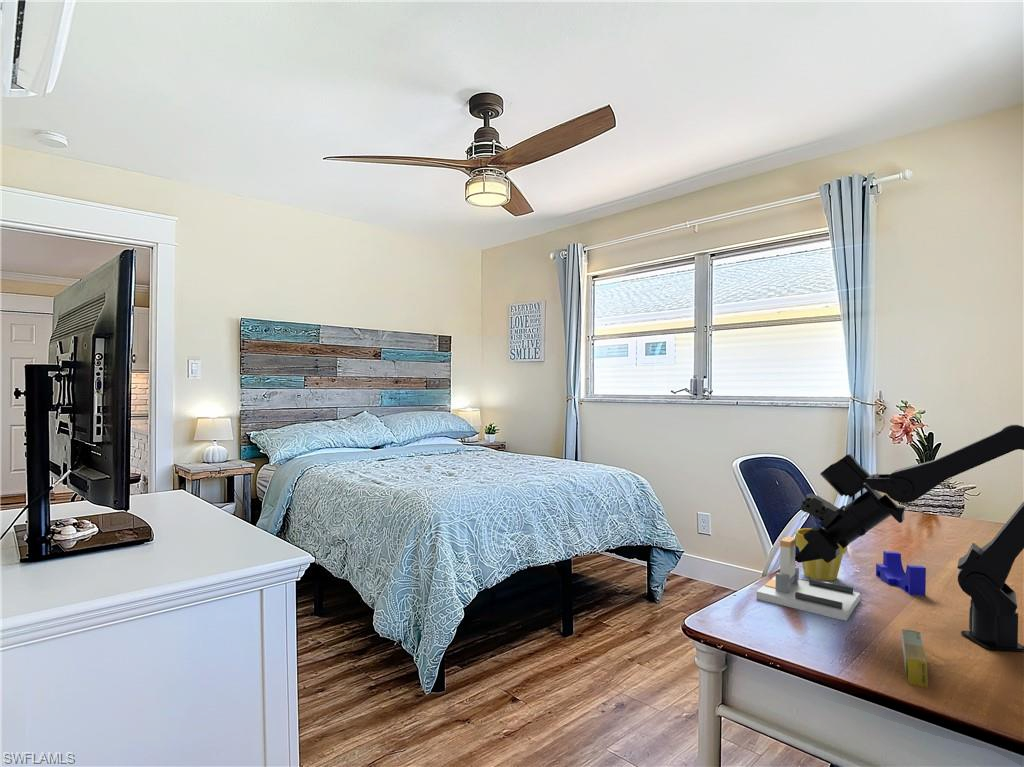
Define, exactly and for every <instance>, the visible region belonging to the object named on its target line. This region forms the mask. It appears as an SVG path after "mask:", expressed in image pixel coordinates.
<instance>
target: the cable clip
mask: <svg viewBox="0 0 1024 767" xmlns="http://www.w3.org/2000/svg"><path fill="white" fill-rule="evenodd" d="M882 554H883V557H882V559H883V560H882V563H876V564H875V577H877V578H879V579H880V580H881V581H882V582H884V583H886V584H887V585H891V586H897V587H898V588H900V589H901V590H902V591H904V592H905V593H906V594H908V595H911V596H921V597H922V596H923V597H924V596H926V588H927V586H926V585H927V584H926V583H927V582H926V580H927V568H926V567H925V566H923V565H917V564H916V565H915V564H906V569H905V570H904V567H903V562H902V553H900V552H898V551H892V550H891V551H890V550H889V551H887V550H883V553H882Z"/></svg>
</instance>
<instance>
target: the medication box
mask: <svg viewBox="0 0 1024 767" xmlns="http://www.w3.org/2000/svg"><path fill="white" fill-rule="evenodd" d="M901 632H902V633H901V637H902V639H901V640H902V654H903V662H904V670H905V677H906V683H907V684H910V685H914V686H919V687H923V688H928V687H929V684H928V683H929V682H928V680H929V679H928V662H927V656H926V652H925V647H924V644H923V643H924V642H923V637H922V633H921V632H920V631H915V630H909V629H902V630H901Z"/></svg>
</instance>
